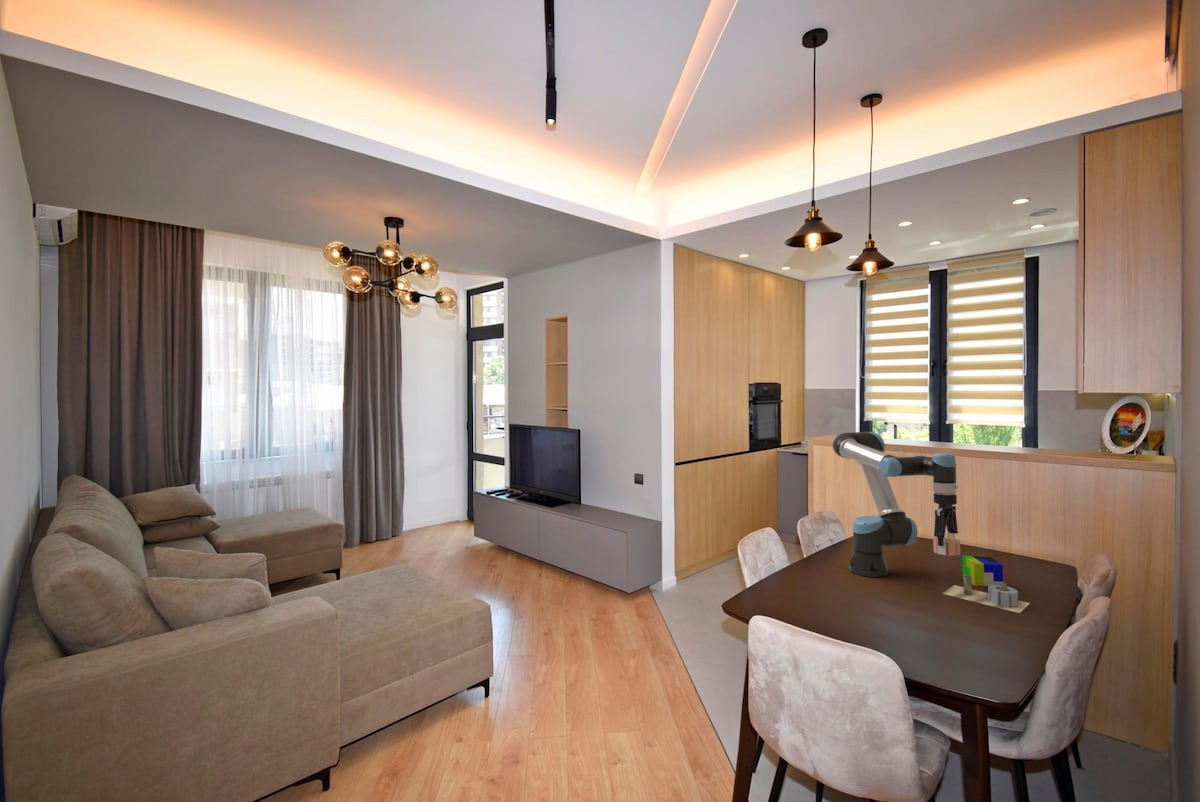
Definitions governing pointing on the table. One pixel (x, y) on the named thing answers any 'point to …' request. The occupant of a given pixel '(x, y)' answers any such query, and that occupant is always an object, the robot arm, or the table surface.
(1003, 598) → the gear
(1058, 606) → the table surface
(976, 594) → the gear board
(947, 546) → the loose gear
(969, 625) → the table surface
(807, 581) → the table surface
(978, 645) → the table surface
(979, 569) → the puzzle toy
